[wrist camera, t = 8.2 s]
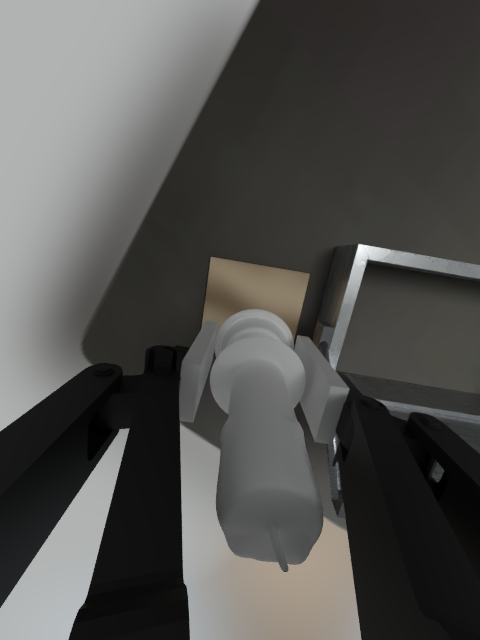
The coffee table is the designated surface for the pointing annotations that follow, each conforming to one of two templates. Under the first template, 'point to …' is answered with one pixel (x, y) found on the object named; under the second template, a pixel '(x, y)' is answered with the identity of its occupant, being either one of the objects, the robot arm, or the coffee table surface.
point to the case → (399, 397)
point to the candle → (263, 442)
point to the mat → (253, 291)
